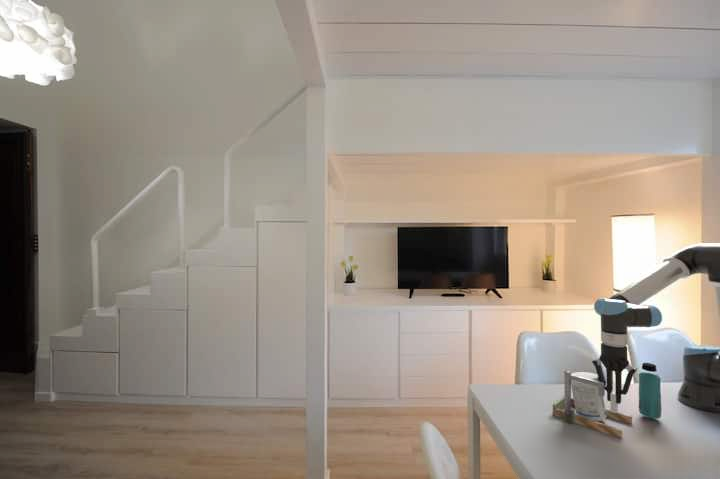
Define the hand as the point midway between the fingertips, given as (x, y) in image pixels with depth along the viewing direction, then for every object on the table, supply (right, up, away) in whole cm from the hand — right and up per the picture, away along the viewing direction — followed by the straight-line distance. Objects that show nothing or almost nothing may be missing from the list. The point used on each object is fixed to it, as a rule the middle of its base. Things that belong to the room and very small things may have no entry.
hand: (614, 411), depth 123 cm
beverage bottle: (+17, -6, +5) cm, 19 cm away
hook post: (-11, -5, -1) cm, 13 cm away
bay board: (-5, -5, +5) cm, 9 cm away
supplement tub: (-5, -5, +5) cm, 8 cm away
